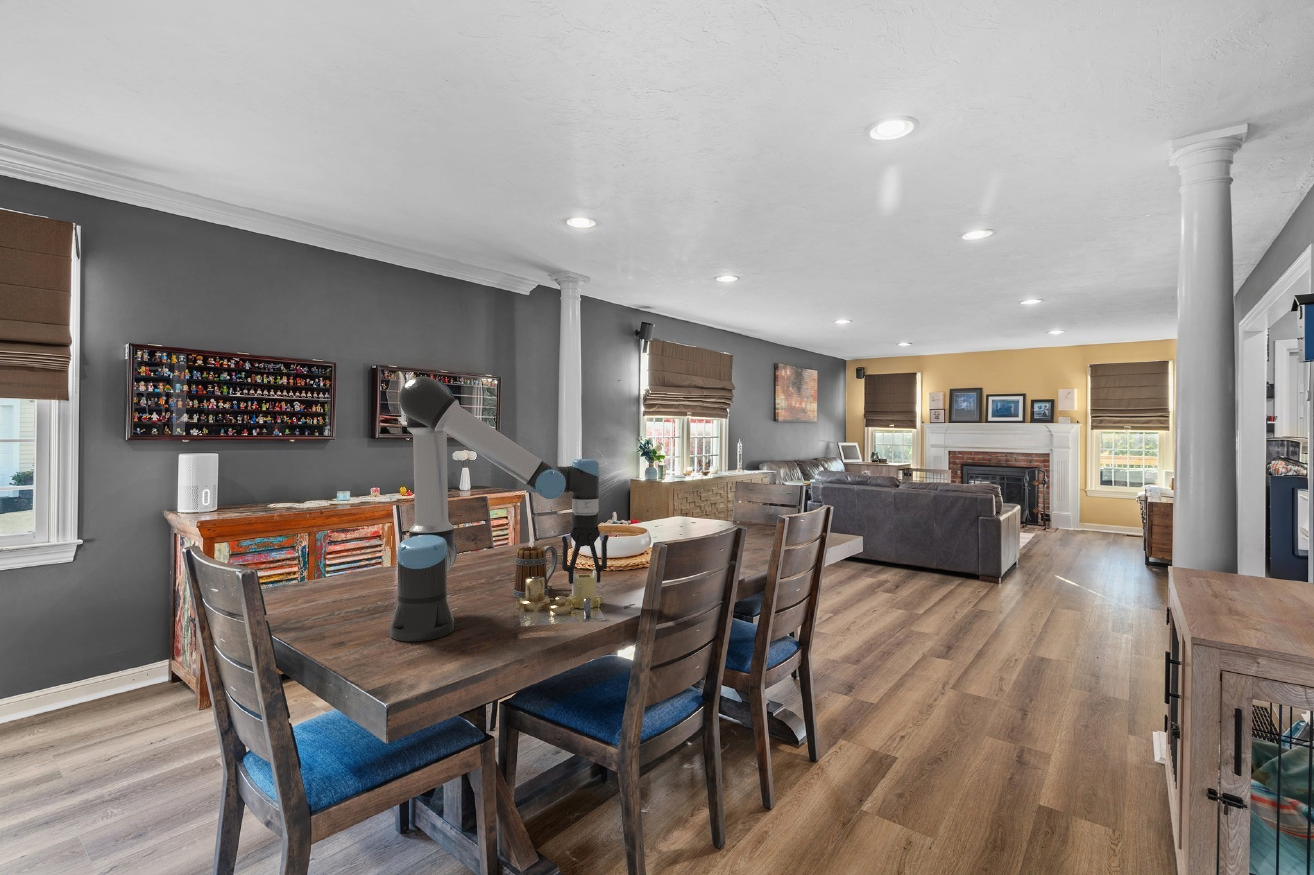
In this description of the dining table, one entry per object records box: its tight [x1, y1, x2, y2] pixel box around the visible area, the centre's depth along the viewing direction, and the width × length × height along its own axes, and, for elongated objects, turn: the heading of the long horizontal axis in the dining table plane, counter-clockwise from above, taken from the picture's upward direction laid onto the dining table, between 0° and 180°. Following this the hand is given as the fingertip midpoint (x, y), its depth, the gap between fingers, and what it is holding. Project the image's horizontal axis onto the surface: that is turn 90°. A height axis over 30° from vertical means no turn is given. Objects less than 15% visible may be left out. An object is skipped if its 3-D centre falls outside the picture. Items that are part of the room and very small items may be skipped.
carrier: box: [515, 576, 607, 627], centre depth 169 cm, size 23×22×10 cm
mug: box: [512, 545, 559, 599], centre depth 188 cm, size 16×11×15 cm
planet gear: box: [565, 573, 604, 609], centre depth 175 cm, size 10×10×8 cm
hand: (584, 594), depth 175 cm, fingers closed on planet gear, 5 cm apart
